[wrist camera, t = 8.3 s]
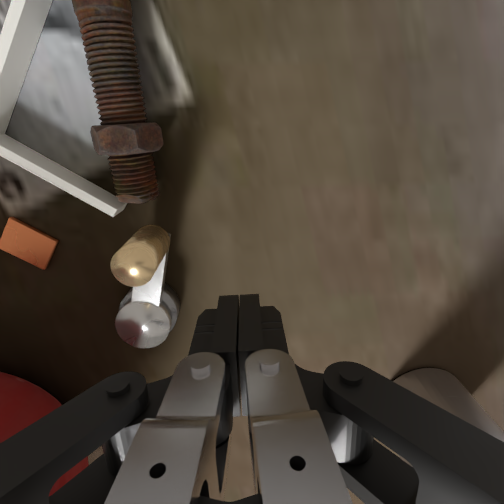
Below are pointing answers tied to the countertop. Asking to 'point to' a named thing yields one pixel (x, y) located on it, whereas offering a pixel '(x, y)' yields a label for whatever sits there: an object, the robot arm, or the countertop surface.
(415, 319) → the countertop surface
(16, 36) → the corral
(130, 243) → the crank
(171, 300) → the small flat pieces
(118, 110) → the bolt
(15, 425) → the mixing bowl
